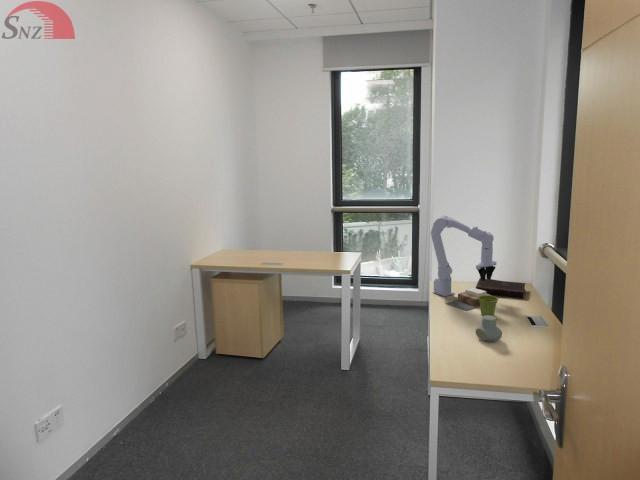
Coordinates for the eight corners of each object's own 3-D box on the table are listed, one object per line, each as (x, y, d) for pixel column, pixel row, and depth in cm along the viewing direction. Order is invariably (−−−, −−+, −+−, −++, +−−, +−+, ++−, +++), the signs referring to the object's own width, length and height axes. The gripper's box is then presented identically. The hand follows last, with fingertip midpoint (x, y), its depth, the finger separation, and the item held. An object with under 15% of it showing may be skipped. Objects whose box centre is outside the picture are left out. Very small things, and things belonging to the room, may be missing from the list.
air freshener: (472, 336, 209) (473, 314, 207) (487, 333, 212) (488, 312, 210) (489, 345, 199) (490, 323, 197) (505, 342, 202) (506, 320, 200)
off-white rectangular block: (465, 293, 256) (465, 289, 256) (472, 290, 259) (472, 287, 259) (478, 297, 248) (479, 293, 248) (486, 295, 252) (486, 291, 251)
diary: (523, 300, 256) (523, 291, 255) (475, 295, 266) (475, 287, 265) (524, 290, 272) (525, 281, 271) (479, 285, 283) (479, 277, 282)
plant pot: (500, 318, 230) (501, 301, 228) (480, 318, 230) (481, 301, 228) (493, 311, 239) (494, 295, 237) (475, 311, 239) (475, 295, 237)
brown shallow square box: (457, 300, 256) (457, 293, 255) (472, 296, 262) (472, 289, 261) (475, 306, 246) (476, 299, 245) (490, 302, 252) (491, 294, 252)
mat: (445, 303, 252) (445, 303, 252) (455, 300, 256) (455, 300, 256) (466, 310, 241) (466, 310, 241) (476, 307, 245) (476, 307, 245)
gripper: (484, 258, 247) (483, 283, 250) (501, 254, 255) (500, 279, 257) (473, 256, 253) (472, 281, 255) (490, 252, 260) (489, 276, 263)
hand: (485, 279), depth 257 cm, fingers open, 4 cm apart
